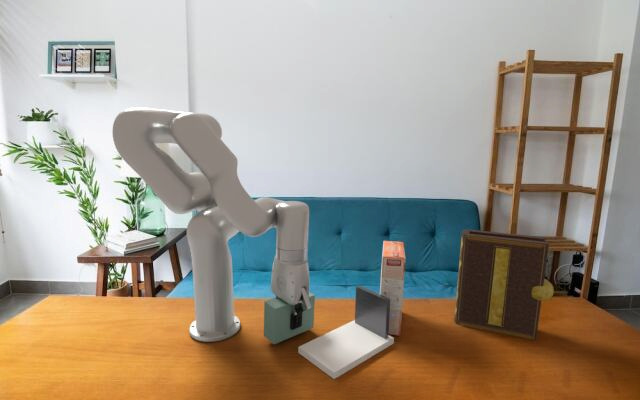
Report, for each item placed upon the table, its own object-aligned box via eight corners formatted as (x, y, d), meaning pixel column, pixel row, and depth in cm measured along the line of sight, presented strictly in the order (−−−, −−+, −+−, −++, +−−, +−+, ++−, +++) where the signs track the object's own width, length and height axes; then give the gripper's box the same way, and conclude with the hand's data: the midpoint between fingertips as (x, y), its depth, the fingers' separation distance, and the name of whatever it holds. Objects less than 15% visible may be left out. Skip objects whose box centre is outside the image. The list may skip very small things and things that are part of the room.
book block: (263, 335, 88) (264, 301, 86) (302, 320, 95) (303, 288, 94) (274, 344, 84) (275, 308, 83) (313, 327, 92) (314, 295, 90)
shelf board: (298, 352, 84) (298, 346, 83) (357, 323, 97) (357, 318, 96) (334, 379, 75) (334, 372, 74) (393, 343, 88) (393, 337, 87)
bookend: (354, 322, 94) (355, 286, 92) (357, 321, 95) (359, 285, 93) (385, 339, 87) (387, 300, 85) (388, 337, 88) (390, 299, 86)
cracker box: (401, 337, 91) (406, 257, 87) (377, 334, 92) (381, 255, 88) (400, 310, 104) (404, 241, 100) (379, 308, 105) (382, 239, 101)
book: (453, 326, 96) (461, 235, 91) (454, 312, 104) (462, 227, 99) (549, 345, 88) (563, 246, 83) (543, 328, 96) (555, 237, 91)
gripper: (259, 246, 90) (258, 314, 93) (301, 267, 77) (298, 344, 81) (283, 241, 95) (282, 305, 98) (327, 260, 82) (323, 333, 86)
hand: (289, 322), depth 89 cm, fingers closed on book block, 4 cm apart
